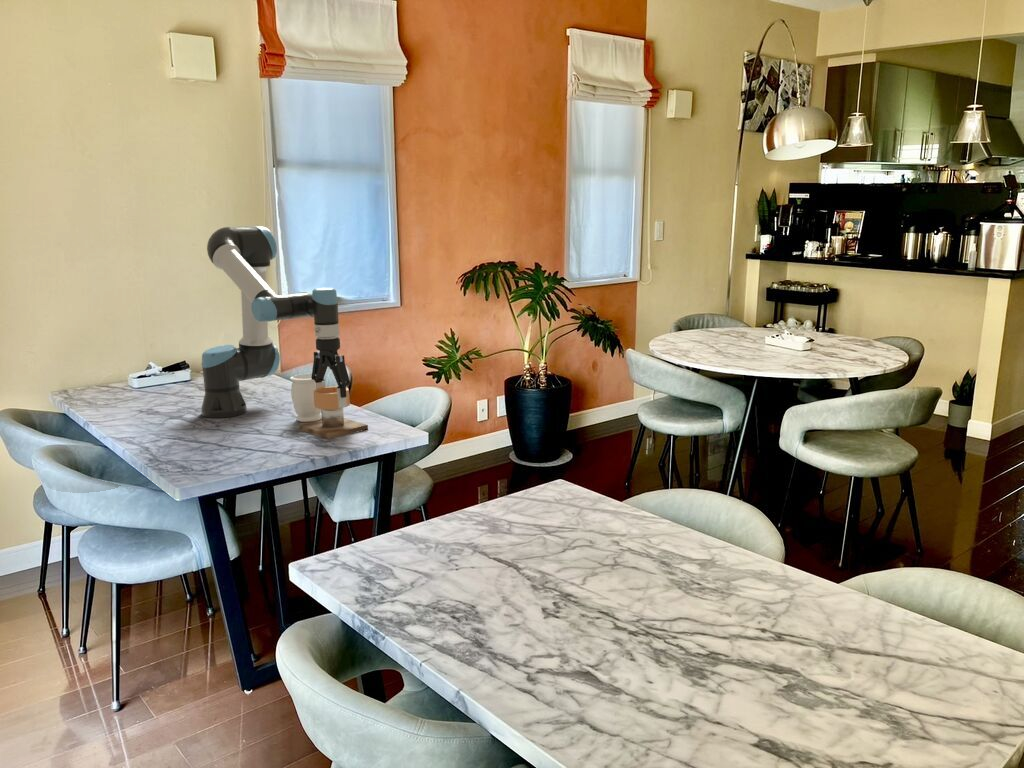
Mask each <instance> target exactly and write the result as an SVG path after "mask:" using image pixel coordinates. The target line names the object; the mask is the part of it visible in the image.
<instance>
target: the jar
mask: <svg viewBox="0 0 1024 768" xmlns="http://www.w3.org/2000/svg"><path fill="white" fill-rule="evenodd" d="M315 376H316V375H315ZM311 377H312V373H301V374H296V375H293V376H290V379H289V380H290V382H291V389H290V392H291V393H290V395H291V400H292V404H293V409H294V412H295V413H296V421H297V422H301V423H310V422H315V421H319V420H322V416H321V409H318V408H315V406H314V393H313V390H316V389H317V388H316V382H315V380H312V378H311Z"/></svg>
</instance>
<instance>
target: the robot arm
mask: <svg viewBox="0 0 1024 768" xmlns="http://www.w3.org/2000/svg"><path fill="white" fill-rule="evenodd" d="M206 252H207V256H208V258H209V260H210V261H211V263H212V264H213V266H215V267H216V268H217V269H219V270H222V271H223V272H224V273H225V274H226V275H227V276H228V277H229V279H230V280H231V281H232V282H233V283H234V285H236V287H238V289H239V290H240V293H241V294H240V295H241V297H240V298H241V299H240V300H241V318H242V319H241V321H242V337H241V339H239V340H238V347H236V346H235V345H234V344H233V345H232V344H225V345H218V346H214V347H210V348H208V349H206V350H204V351H203V353H202V354H201V367H202V374H203V378H202V379H203V385H204V397H203V400H202V403H201V404H202V405H201V408H200V410H201V416H202V417H204V418H212V419H217V418H218V419H221V418H231V417H232V418H233V417H236V416H241V415H243V414H246V413H247V412H248V411H247V409H248V408H247V407H248V406H247V403H246V400H245V399H244V397H243V393H242V392H241V389H240V382H241V381H247V380H253V379H264V378H266V377H269V376H272V375H274V374H275V373H276V372H277V371H278V369H279V366H280V360H281V355H280V351H279V349H278V347H277V345H276V344H273V340H272V339H271V338H270V337H269V327H268V322H274V321H280V320H281V321H282V320H289V319H297V318H307V317H309V318H310V317H312V318H313V320H314V321H313V323H314V333H315V335H314V336H315V337H316V338H315V349H316V351H313V364H312V372H311V374H312V377H311V378H312V380H315V382H316V388H317V389H318V388H323V387H326V383H325V381H326V380H325V375H326V372H327V369H328V368H329V370H330V371H331V372H332V374H333V377H334V379H335V381H336V384H337V386H338V387H337V396H338V408H343V409H344V408H347V407H348V406H347V402H346V388H348V387H349V386H351V381H350V377H349V374H348V370H347V365H346V363H345V362H346V361H345V360H346V359H345V355H344V354H340V355H339V353H338V350H340V349H341V338H340V337H339V336H340V322H339V303H338V302H339V300H338V295H337V290H336V289H335V288H333V287H319V288H314V289H312V293H311V292H307V291H304V292H296V293H294V294H285V295H283V294H281V295H278V294H277V293H276V292H275V291H274V290H273V289H272V288H271V287H270V286H269V285H268V284H267V270H268V269H269V268H270V267H271V261H272V260H274V259H275V257H276V255H277V254H278V253H277V252H278V247H277V241H276V239H275V236H274V234H273V232H272V231H271V230H270V229H269V228H267V227H265V226H259V225H257V226H256V225H246V226H225V227H221V228H219V229H218V228H217V230H215V231H214V232H213V233H212V234H211V236H210V237H209V239H208V241H207V246H206ZM315 375H316V376H315Z"/></svg>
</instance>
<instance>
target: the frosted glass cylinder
mask: <svg viewBox="0 0 1024 768" xmlns="http://www.w3.org/2000/svg"><path fill="white" fill-rule="evenodd" d="M320 415H321V416H322V419H321V420H322V426H323V427H326V428H336V427H341V426H343V425H344V418H345V417H344V416H345V415H344V407H343V408H339V409H321V413H320Z"/></svg>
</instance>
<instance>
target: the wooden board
mask: <svg viewBox="0 0 1024 768" xmlns="http://www.w3.org/2000/svg"><path fill="white" fill-rule="evenodd" d="M365 429H367V430H369V425H368V424H366V423H362V422H360V421H359V422H358V421H355V420H353V419H349V418H345V417H344V425H343V426H341V427H336V428H326V427H323V426H322V419H320V420H318V421H313V422H305V423H302V424H298V430H300V431H302V432H306V433H308V434H312V435H315V436H318V437H321V438H324V439H327V440H330V439H331V440H332V439H335V438H338V437H342V436H343V437H344V436H346V435H350V433H351V434H355V433H358V432H357V431H359V432H362V431H361V430H363V431H366V430H365ZM354 432H355V433H354Z"/></svg>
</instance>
